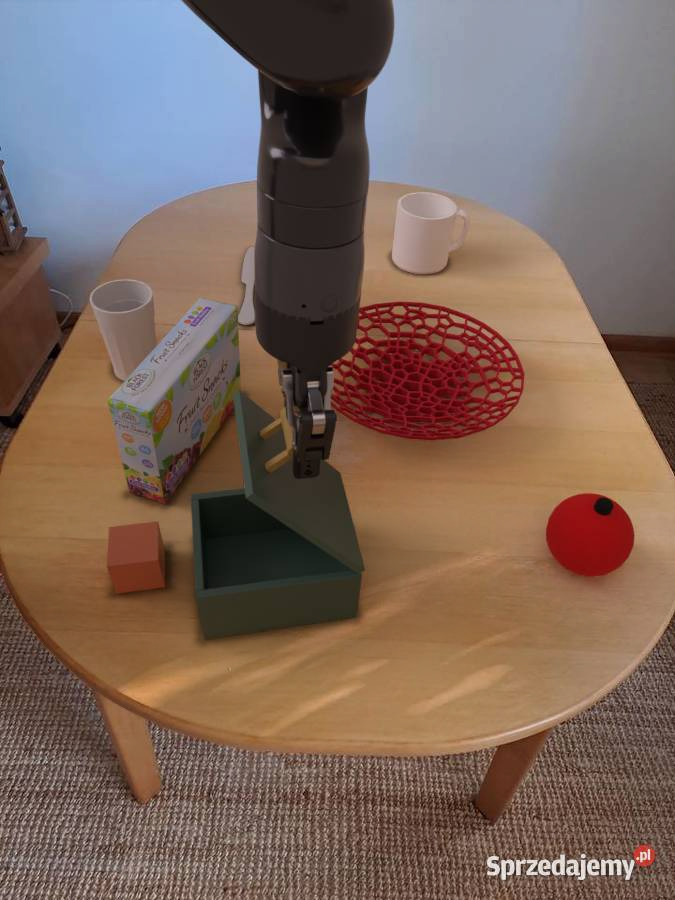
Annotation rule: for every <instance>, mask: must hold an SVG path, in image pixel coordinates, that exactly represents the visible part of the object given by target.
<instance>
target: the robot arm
mask: <svg viewBox="0 0 675 900" xmlns="http://www.w3.org/2000/svg"><path fill="white" fill-rule="evenodd" d="M180 1H181V3H183V4H184V5H185V6H186V7H187V8H188V9H189V10H190V11H191V12H192V13H193V14H194V15H195V16H196V17H197V18H198V19H199V20H200V21H202V22H203V23H204V25H206V26H207V27H208V28H209V29H211V31H213V32H214V33H215V34H216V35H217V36H218V37H219V38H220V39H221V40H223V42H225V43H226V44H227V45H228V46H229V47H230V48H232V50H234V51H235V52H236V53H237V54H238V55H239V56H240V57H242V58H243V59H244V60H245V61H247V62H248V63H249V64H250V65H252V66H253V67H254V68H255V69H257V79H258V97H259V109H260V110H259V113H260V132H259V142H258V151H257V152H258V153H257V164H256V209H257V210H256V211H257V212H256V215H257V217H256V218H257V223H256V224H257V225H256V226H257V227H256V235H255V236H256V237H255V243H254V246H255V253H254V264H255V281H254V305H255V306H254V309H255V337H256V340H257V342H258V343H259V345H260V347H261V348H262V349H263V350H264V351H265V352H266V354H268V355H269V356H271V357H272V358H274V359H276V361H277V375H278V383H279V384H278V385H279V386H280V392H281V394H282V397H283V399H284V400H283V408H284V407H286V418H287V421H288V424H289V425H290V426H292V427H293V441H292V447H293V474H294V477H295V478H296V479H303V478H314V477H317V476H318V475H319V473H320V460H325V461H327V460H330V456H331V450H332V445H333V440H334V436H335V430H336V424H337V421H338V415H337V413H336V410H335V409H334V408H332V406H331V401H332V399H331V395H332V390H333V387H334V385H335V383H334V378H335V374H334V373H335V371H334V370H335V369H334V368H333V366H330V365H331V364H335V362H337V361H339V360H338V359H340V358H342V359H343V358H344V357H345V356H346V355H347V354H348V353H350V350H351V349H352V347H353V348H354V345H355V344H356V343H355V341H356V338H357V334H358V329H357V326H358V317H359V316H360V313H359V308H361V298H362V297H361V296H362V287H363V280H364V279H363V278H364V270H365V257H366V256H365V253H366V251H365V227H366V226H365V225H366V217H367V216H366V215H367V208H368V207H367V206H368V198H369V187H370V186H369V185H370V175H371V174H370V172H371V171H370V170H371V168H370V167H371V163H370V148H369V142H368V137H367V132H366V131H367V130H366V112H367V103H368V90H369V86H371V85H372V84H373V82H374V81H375V80H376V79H377V78H378V77H379V75H380V74H381V73H382V71H383V69H384V67H385V65H386V64H387V61H388V60H389V57H390V54H391V50H392V47H393V43H394V37H395V19H396V18H395V17H396V16H395V8H394V2H393V0H180ZM294 406H297V407H298V408H299V409H300V411H299V412H297V411H294Z"/></svg>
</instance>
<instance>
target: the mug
mask: <svg viewBox="0 0 675 900" xmlns="http://www.w3.org/2000/svg"><path fill="white" fill-rule="evenodd" d="M457 217H460V218H462V219H463V228H462V230H461V233H460V235H459V237H458V238H457V239H456V240H455V241H454V242H452V240H453V233H454V228H455V222H456V218H457ZM470 223H471V219H470V214H469V213H468V212H467V211H466V210H464V209H458V206H457V204H456V203H455V202H454V200H452V199H451V198H449V197H447V196H445V195H443V194H439V193H435V192H428V191H414V192H411V193H406V194H404V195H402V196H401V197H400V198H399V199H398V201H397V205H396V215H395V224H394V233H393V242H392V250H391V260H392V262H393V264H394V265H395V266H396V267H397V268H398V269H400V270H402V271H404V272H407V273H409V274H415V275H425V276H426V275H433V274H437V273H439V272H441V271H443V270H444V269H445V268H446V267H447V264H448V261H449V256H450V252H453V251H455V250H457V249H458V248H459V247H460V246H461V245H462V244H464V241H465V239H466V237H467V234H468V232H469V229H470Z"/></svg>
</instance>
